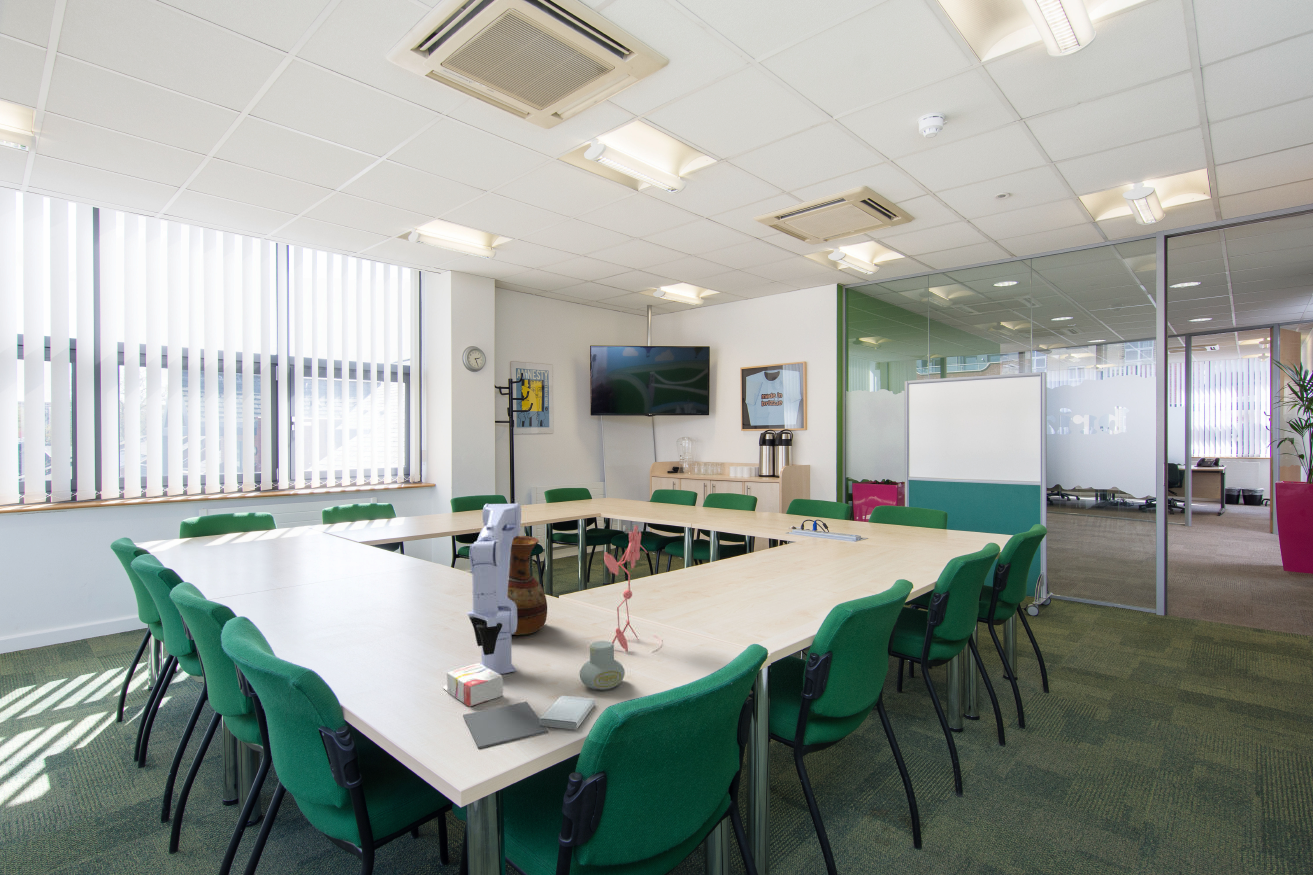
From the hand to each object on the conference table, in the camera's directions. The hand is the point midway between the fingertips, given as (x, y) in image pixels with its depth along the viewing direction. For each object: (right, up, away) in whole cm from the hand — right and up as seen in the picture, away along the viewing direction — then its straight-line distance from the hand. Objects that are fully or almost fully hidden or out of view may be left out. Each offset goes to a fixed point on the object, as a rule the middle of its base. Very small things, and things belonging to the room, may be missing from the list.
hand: (485, 649), depth 144 cm
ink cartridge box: (+2, -8, -5) cm, 9 cm away
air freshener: (+27, -10, +4) cm, 29 cm away
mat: (+8, -10, -16) cm, 21 cm away
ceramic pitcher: (-4, -11, +49) cm, 50 cm away
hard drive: (+21, -10, -12) cm, 27 cm away
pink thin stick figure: (+35, -11, +33) cm, 49 cm away
